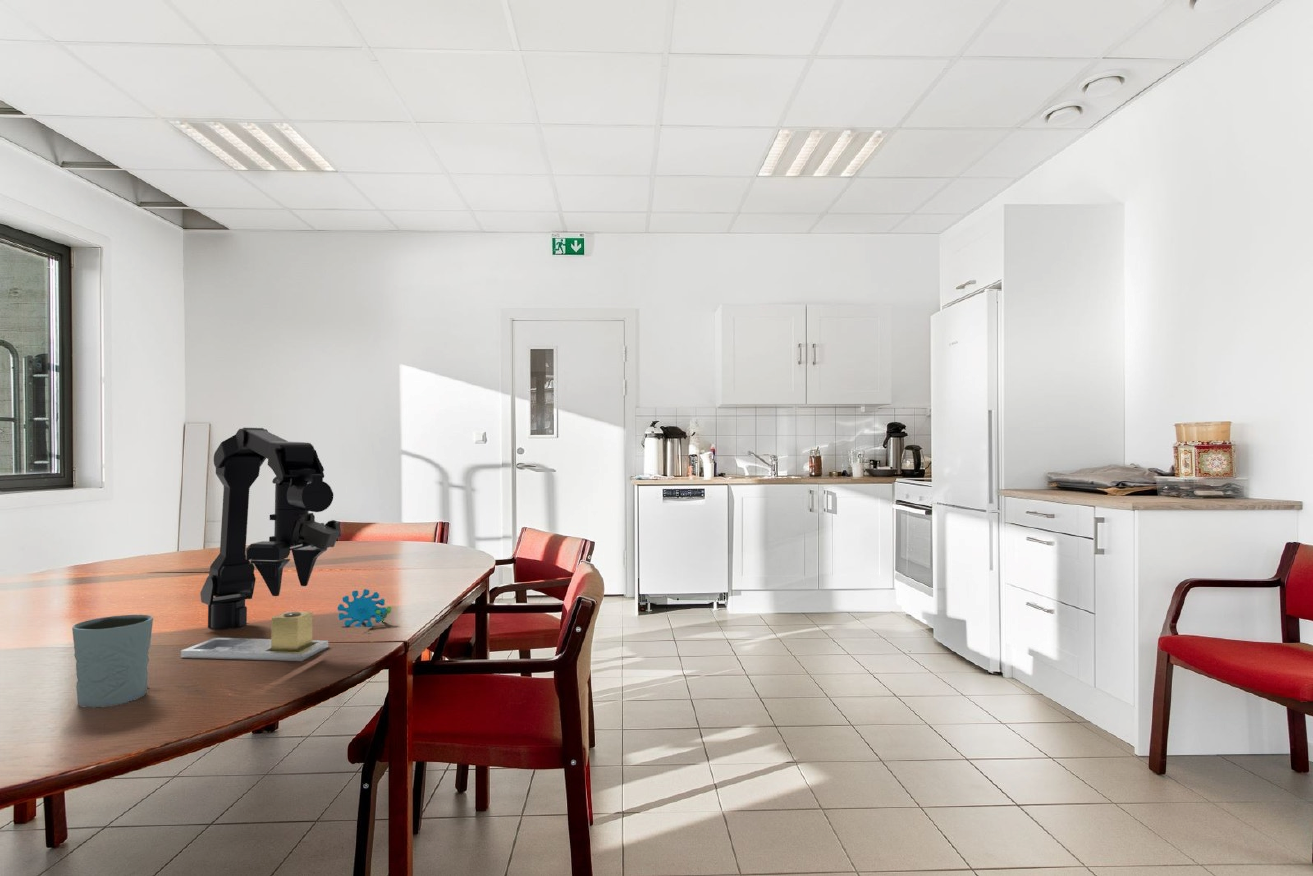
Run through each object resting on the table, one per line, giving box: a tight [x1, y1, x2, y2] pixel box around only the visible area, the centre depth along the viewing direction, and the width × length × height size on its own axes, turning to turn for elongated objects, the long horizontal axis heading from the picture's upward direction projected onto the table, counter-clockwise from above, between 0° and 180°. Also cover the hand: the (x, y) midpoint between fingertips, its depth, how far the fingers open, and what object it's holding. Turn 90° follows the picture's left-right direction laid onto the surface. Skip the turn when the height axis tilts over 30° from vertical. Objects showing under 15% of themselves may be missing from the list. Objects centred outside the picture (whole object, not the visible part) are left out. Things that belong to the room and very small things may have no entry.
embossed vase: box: [71, 614, 154, 708], centre depth 111 cm, size 10×10×12 cm
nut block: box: [270, 611, 314, 652], centre depth 133 cm, size 5×5×7 cm
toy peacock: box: [336, 588, 392, 628], centre depth 158 cm, size 11×6×10 cm
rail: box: [180, 637, 329, 662], centre depth 134 cm, size 23×9×2 cm, turn 86°
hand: (290, 590), depth 134 cm, fingers open, 9 cm apart
